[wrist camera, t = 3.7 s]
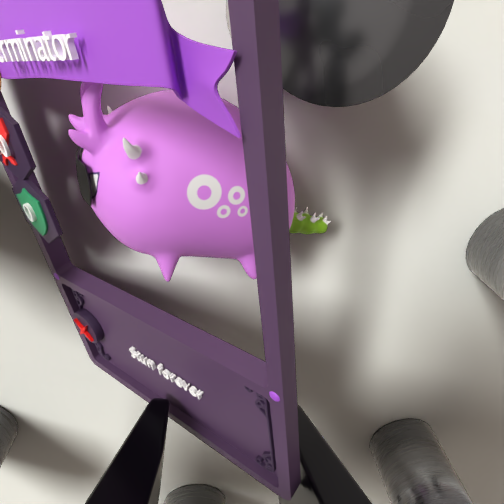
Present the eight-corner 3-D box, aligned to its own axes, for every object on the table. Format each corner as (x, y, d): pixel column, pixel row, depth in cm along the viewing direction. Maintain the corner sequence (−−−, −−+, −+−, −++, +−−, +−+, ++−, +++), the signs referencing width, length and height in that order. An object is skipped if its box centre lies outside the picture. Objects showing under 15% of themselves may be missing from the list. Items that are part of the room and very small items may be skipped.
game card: (68, 380, 11) (-136, -15, 6) (198, 281, 14) (135, -21, 9) (269, 541, 7) (164, -154, 2) (378, 355, 10) (429, -79, 6)
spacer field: (676, 30, 8) (1002, 25, 5) (382, 519, 17) (425, 638, 14) (-259, -209, 6) (-1007, -599, 2) (-36, 519, 15) (-114, 669, 11)
